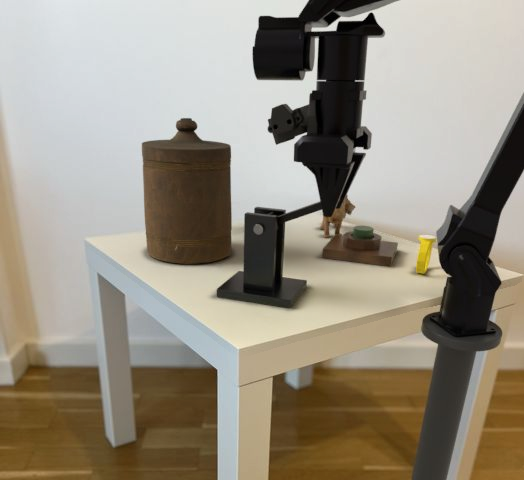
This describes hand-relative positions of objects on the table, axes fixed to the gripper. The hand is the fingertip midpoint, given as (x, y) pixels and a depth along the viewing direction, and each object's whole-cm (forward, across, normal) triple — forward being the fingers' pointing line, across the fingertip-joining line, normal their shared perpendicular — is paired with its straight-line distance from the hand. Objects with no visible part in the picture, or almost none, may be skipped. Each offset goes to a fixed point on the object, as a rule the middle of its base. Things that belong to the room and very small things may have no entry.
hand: (332, 212), depth 72 cm
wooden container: (+12, -14, -28) cm, 33 cm away
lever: (+2, 0, -5) cm, 5 cm away
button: (+10, -25, +1) cm, 27 cm away
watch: (+13, -20, +12) cm, 27 cm away
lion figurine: (+13, -38, -7) cm, 41 cm away
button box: (+13, -25, +1) cm, 28 cm away
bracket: (+12, 0, -10) cm, 16 cm away
